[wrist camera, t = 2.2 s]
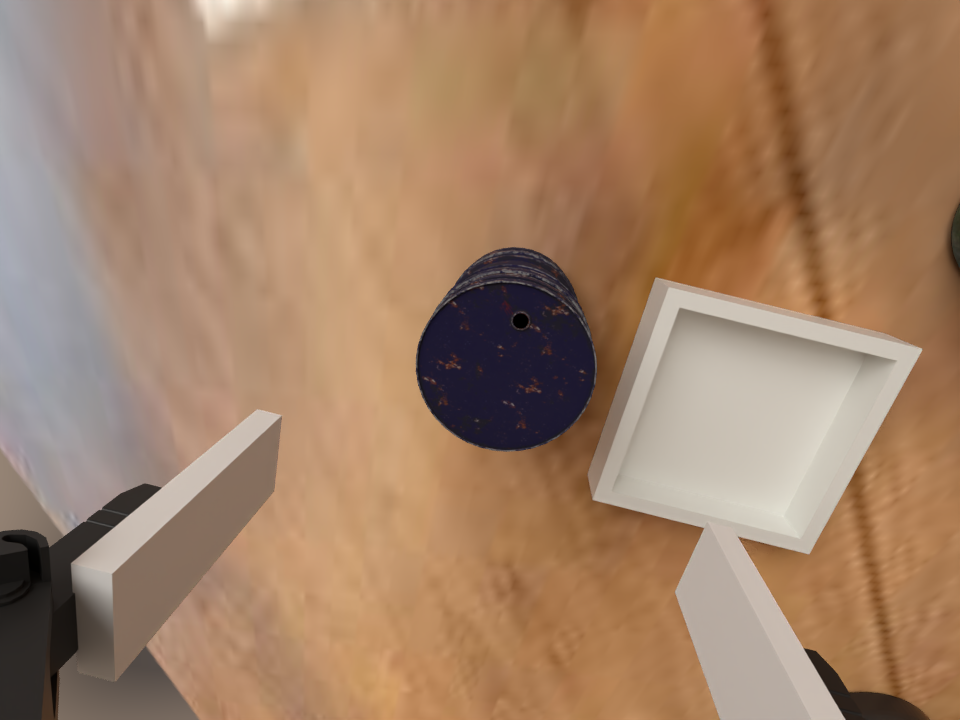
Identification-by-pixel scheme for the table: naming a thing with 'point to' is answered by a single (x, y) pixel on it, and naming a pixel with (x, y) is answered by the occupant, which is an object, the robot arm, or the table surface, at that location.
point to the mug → (956, 236)
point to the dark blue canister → (508, 353)
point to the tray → (744, 414)
